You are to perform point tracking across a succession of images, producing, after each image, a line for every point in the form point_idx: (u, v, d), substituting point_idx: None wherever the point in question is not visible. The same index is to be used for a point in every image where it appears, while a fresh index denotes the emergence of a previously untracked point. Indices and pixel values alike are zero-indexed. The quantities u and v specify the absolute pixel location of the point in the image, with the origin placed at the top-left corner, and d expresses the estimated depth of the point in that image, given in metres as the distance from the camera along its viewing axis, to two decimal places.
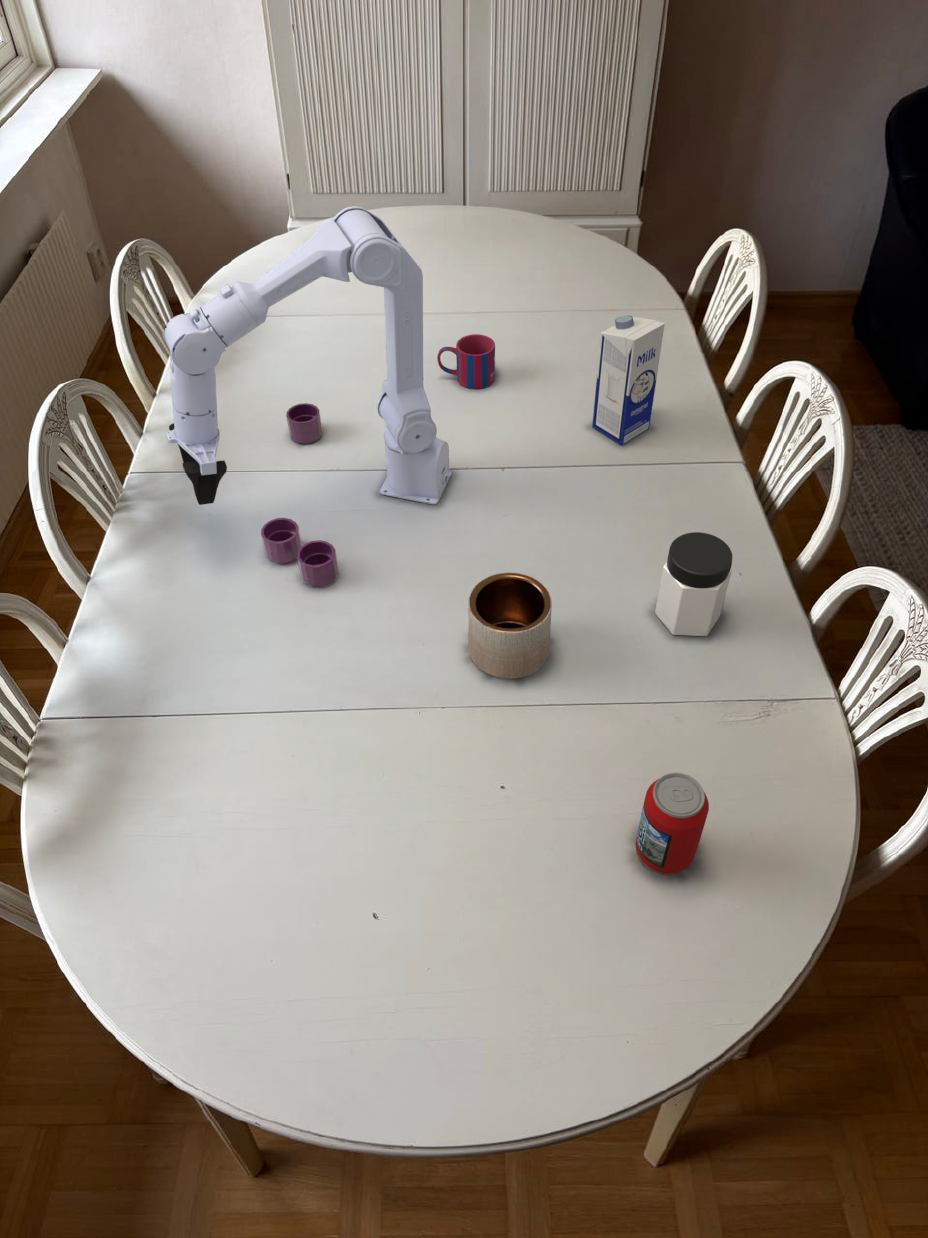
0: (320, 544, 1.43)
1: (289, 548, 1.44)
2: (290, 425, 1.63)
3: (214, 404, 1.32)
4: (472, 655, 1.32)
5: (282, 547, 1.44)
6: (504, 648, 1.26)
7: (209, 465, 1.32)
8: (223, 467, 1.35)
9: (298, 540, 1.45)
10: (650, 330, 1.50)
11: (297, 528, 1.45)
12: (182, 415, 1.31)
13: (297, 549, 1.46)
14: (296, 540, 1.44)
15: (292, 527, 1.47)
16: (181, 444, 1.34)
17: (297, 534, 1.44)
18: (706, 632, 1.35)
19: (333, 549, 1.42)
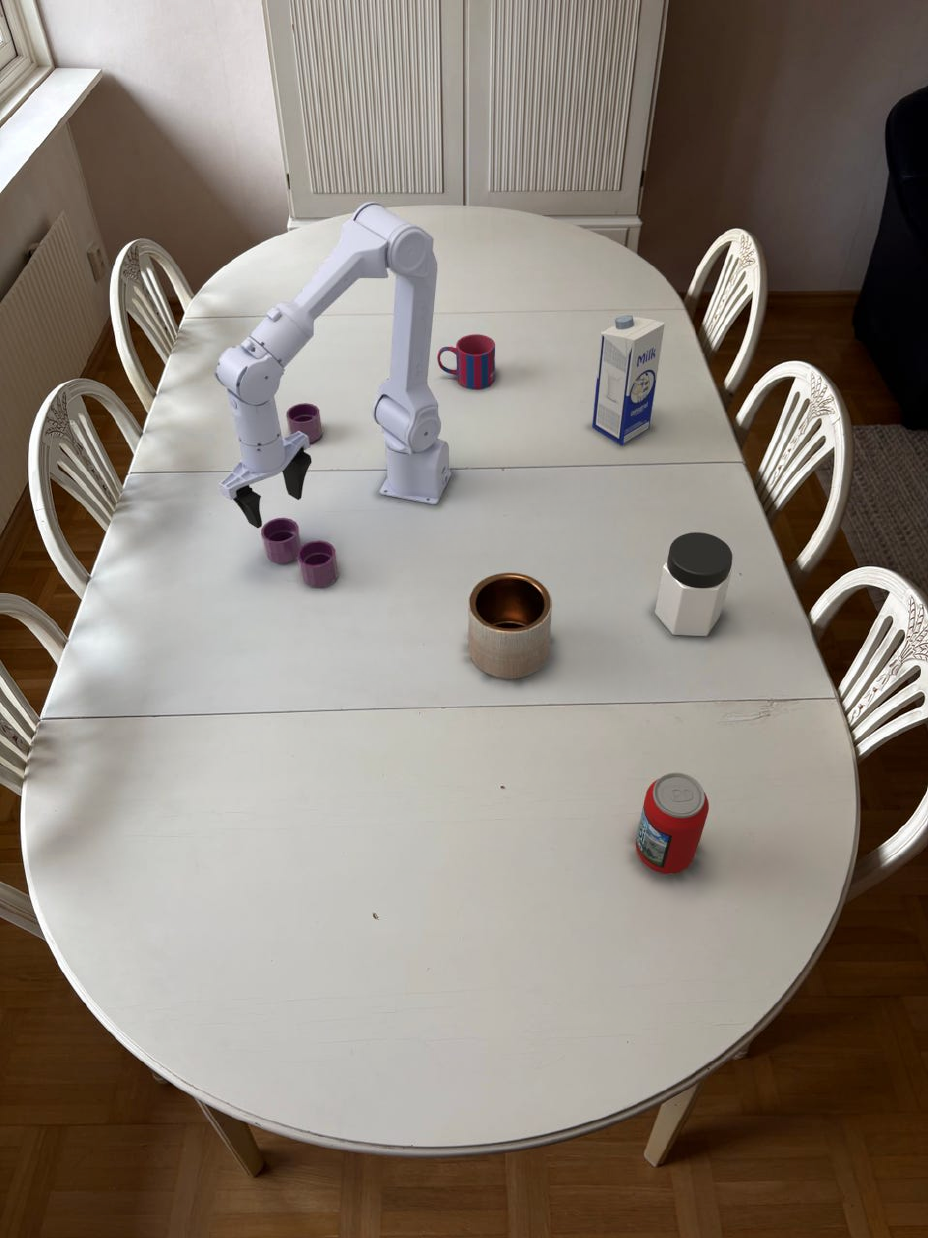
0: (320, 544, 1.43)
1: (289, 548, 1.44)
2: (290, 425, 1.63)
3: (279, 427, 1.31)
4: (472, 655, 1.32)
5: (282, 547, 1.44)
6: (504, 648, 1.26)
7: (224, 489, 1.32)
8: (248, 500, 1.33)
9: (298, 540, 1.45)
10: (650, 330, 1.50)
11: (297, 528, 1.45)
12: None
13: (297, 549, 1.46)
14: (296, 540, 1.44)
15: (292, 527, 1.47)
16: None
17: (297, 534, 1.44)
18: (706, 632, 1.35)
19: (333, 549, 1.42)
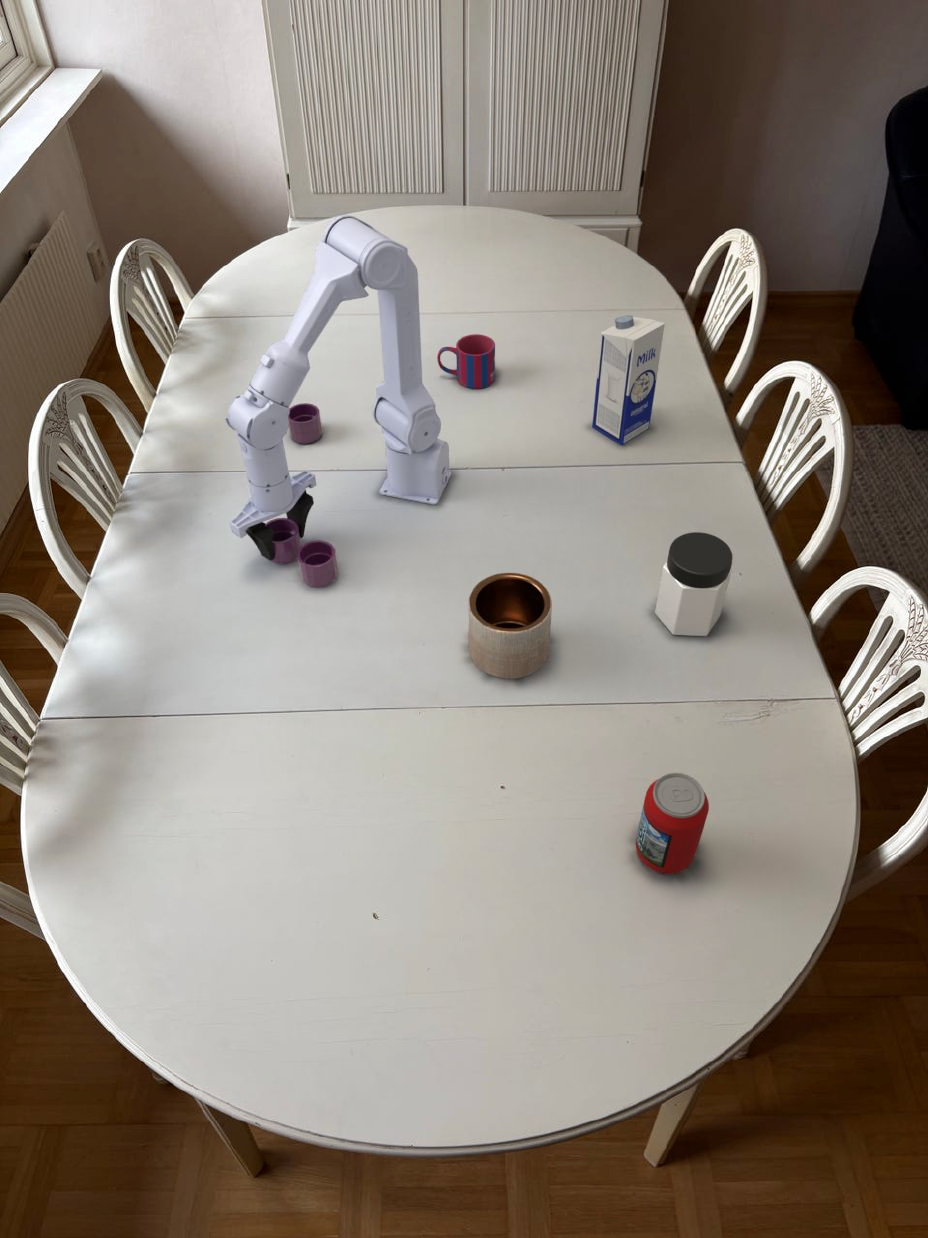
0: (320, 544, 1.43)
1: (289, 548, 1.44)
2: (290, 425, 1.63)
3: (287, 468, 1.36)
4: (472, 655, 1.32)
5: (282, 547, 1.44)
6: (504, 648, 1.26)
7: (234, 527, 1.37)
8: (261, 535, 1.38)
9: (298, 540, 1.45)
10: (650, 330, 1.50)
11: (297, 528, 1.45)
12: None
13: (297, 549, 1.46)
14: (296, 540, 1.44)
15: (292, 527, 1.47)
16: (250, 499, 1.40)
17: (297, 534, 1.44)
18: (706, 632, 1.35)
19: (333, 549, 1.42)
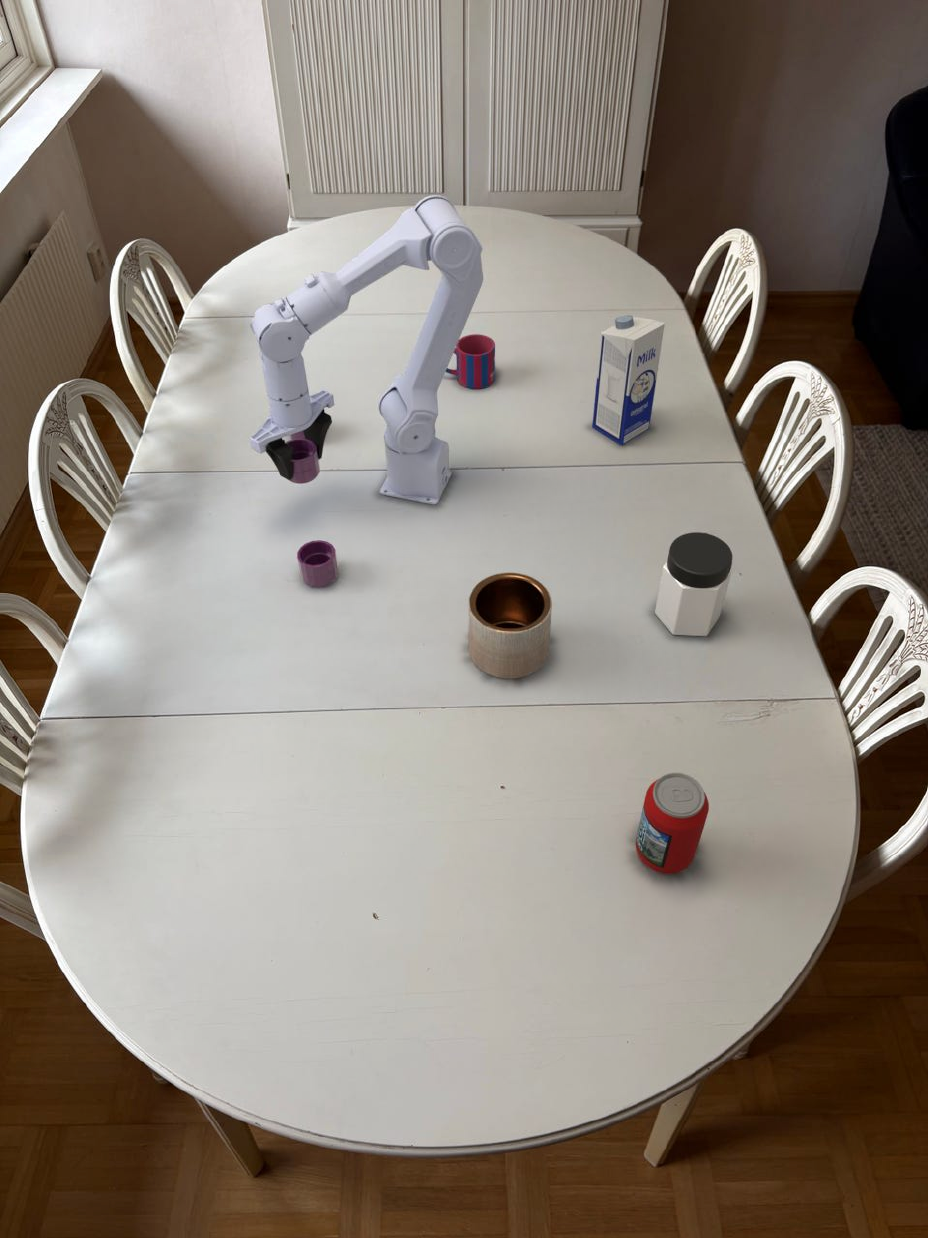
0: (320, 544, 1.43)
1: (307, 467, 1.46)
2: None
3: (305, 388, 1.37)
4: (472, 655, 1.32)
5: (300, 466, 1.45)
6: (504, 648, 1.26)
7: (254, 442, 1.38)
8: (281, 451, 1.40)
9: (316, 460, 1.47)
10: (650, 330, 1.50)
11: (315, 447, 1.46)
12: None
13: (315, 469, 1.47)
14: (314, 459, 1.46)
15: (310, 447, 1.48)
16: None
17: (315, 453, 1.46)
18: (706, 632, 1.35)
19: (333, 549, 1.42)
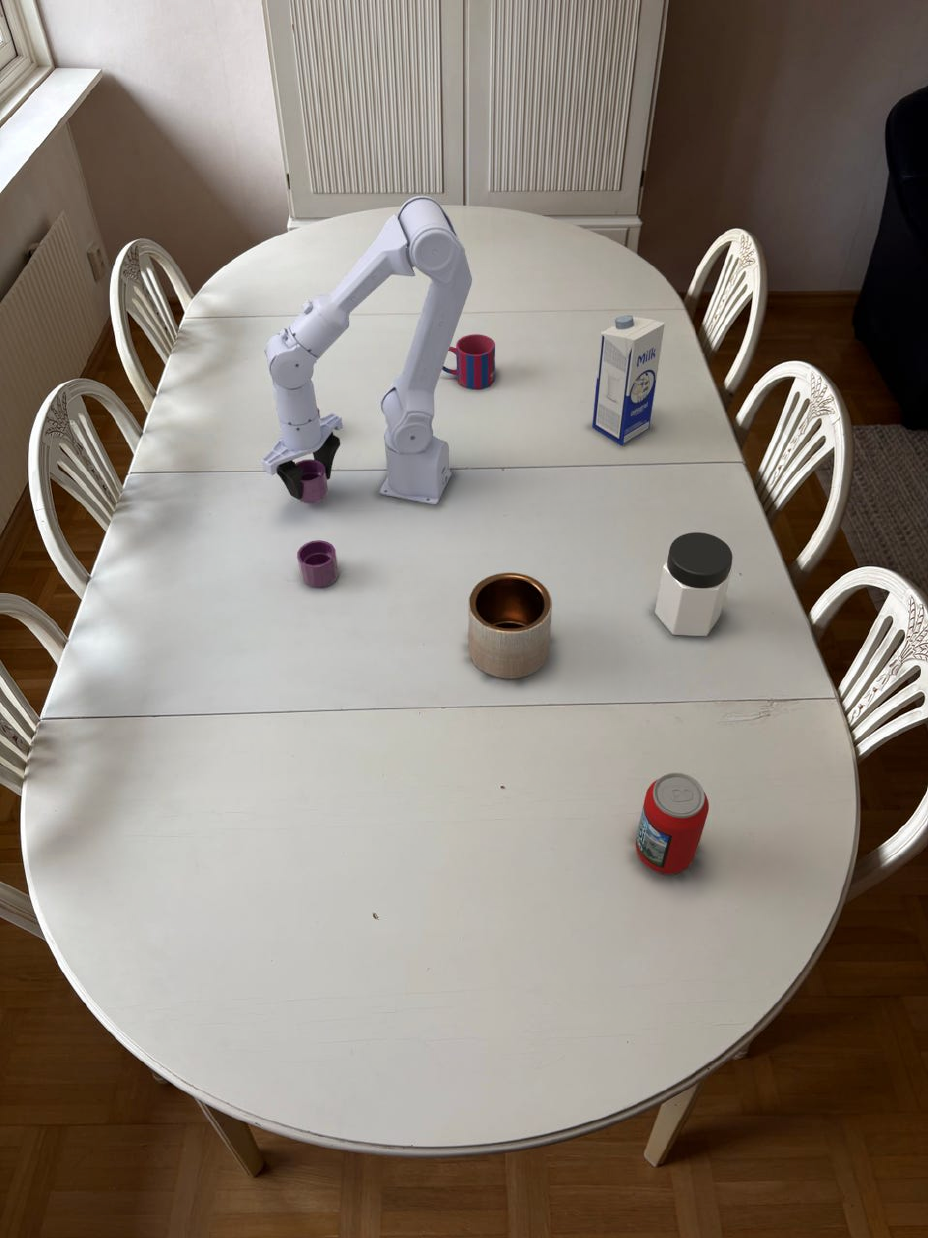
0: (320, 544, 1.43)
1: (316, 487, 1.51)
2: None
3: (314, 413, 1.42)
4: (472, 655, 1.32)
5: (310, 486, 1.50)
6: (504, 648, 1.26)
7: (266, 465, 1.43)
8: (291, 472, 1.45)
9: (325, 480, 1.52)
10: (650, 330, 1.50)
11: (324, 468, 1.51)
12: None
13: (324, 489, 1.52)
14: (323, 480, 1.51)
15: (319, 468, 1.53)
16: (280, 439, 1.47)
17: (324, 474, 1.51)
18: (706, 632, 1.35)
19: (333, 549, 1.42)
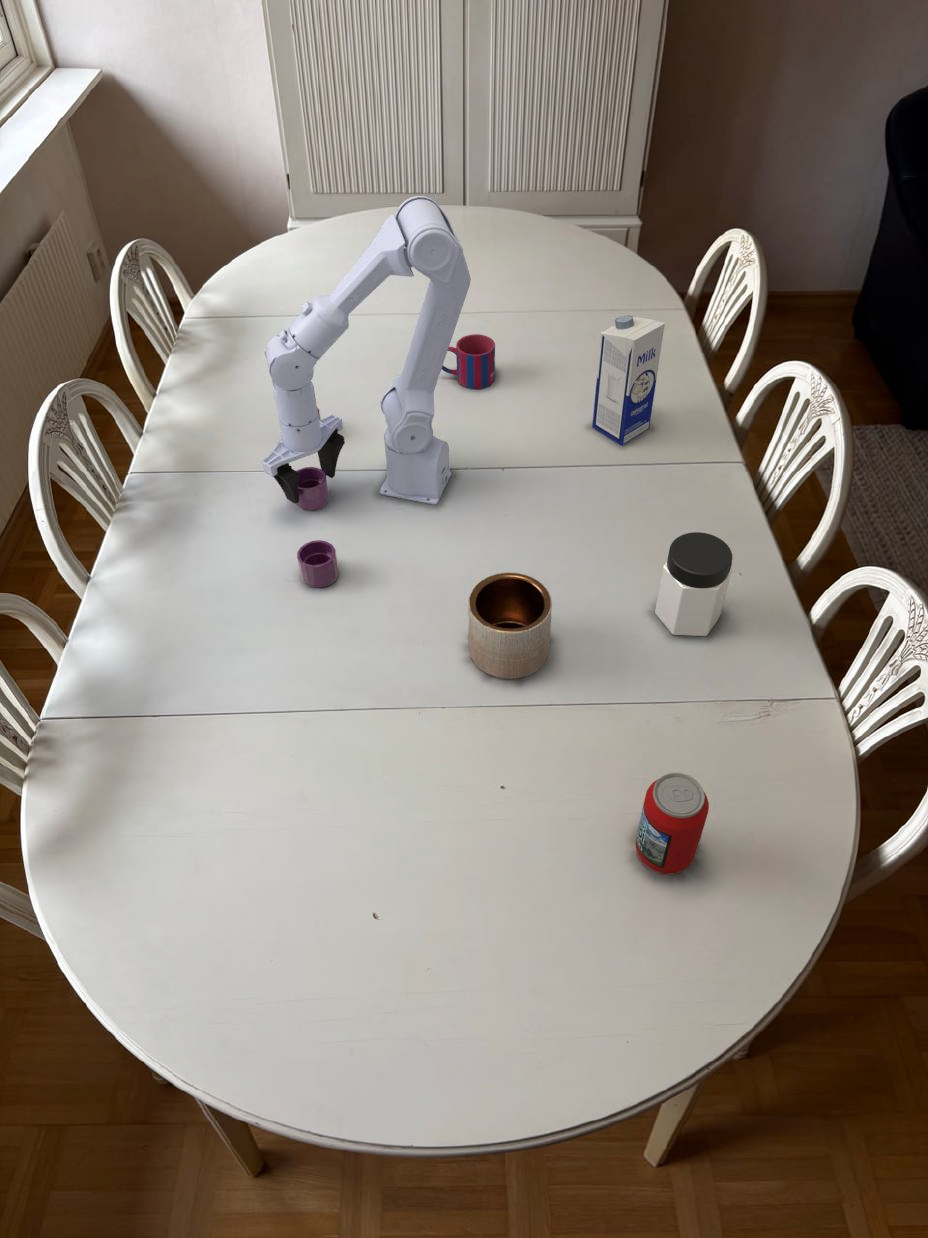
0: (320, 544, 1.43)
1: (317, 495, 1.52)
2: None
3: (314, 414, 1.42)
4: (472, 655, 1.32)
5: (311, 494, 1.51)
6: (504, 648, 1.26)
7: (266, 466, 1.44)
8: (288, 476, 1.45)
9: (326, 488, 1.53)
10: (650, 330, 1.50)
11: (325, 476, 1.53)
12: None
13: (325, 496, 1.53)
14: (324, 487, 1.52)
15: (320, 475, 1.54)
16: None
17: (325, 482, 1.52)
18: (706, 632, 1.35)
19: (333, 549, 1.42)
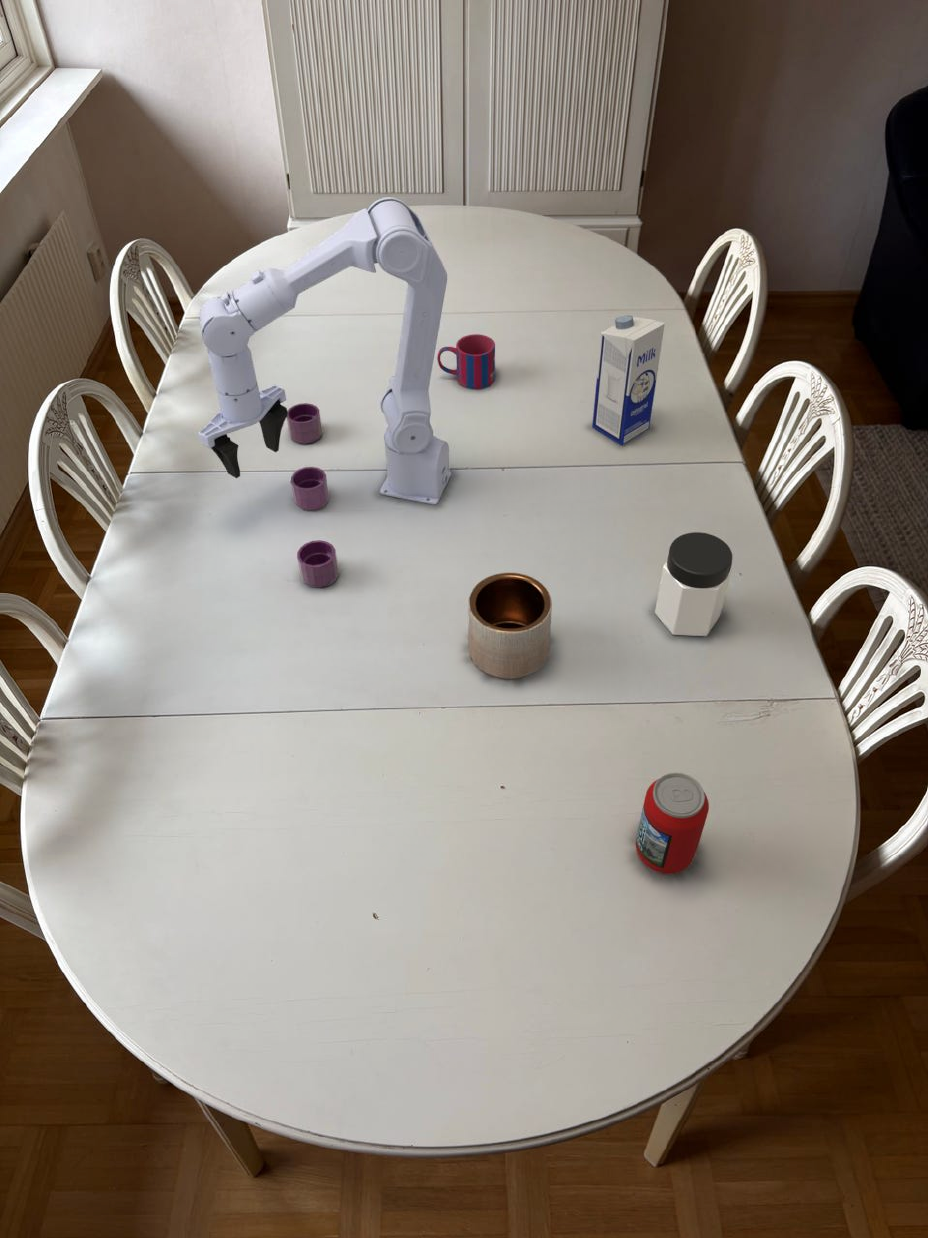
0: (320, 544, 1.43)
1: (317, 495, 1.52)
2: (290, 425, 1.63)
3: (252, 383, 1.36)
4: (472, 655, 1.32)
5: (311, 494, 1.51)
6: (504, 648, 1.26)
7: (203, 437, 1.37)
8: (226, 448, 1.39)
9: (326, 488, 1.53)
10: (650, 330, 1.50)
11: (325, 476, 1.53)
12: None
13: (325, 496, 1.53)
14: (324, 487, 1.52)
15: (320, 475, 1.54)
16: None
17: (325, 482, 1.52)
18: (706, 632, 1.35)
19: (333, 549, 1.42)
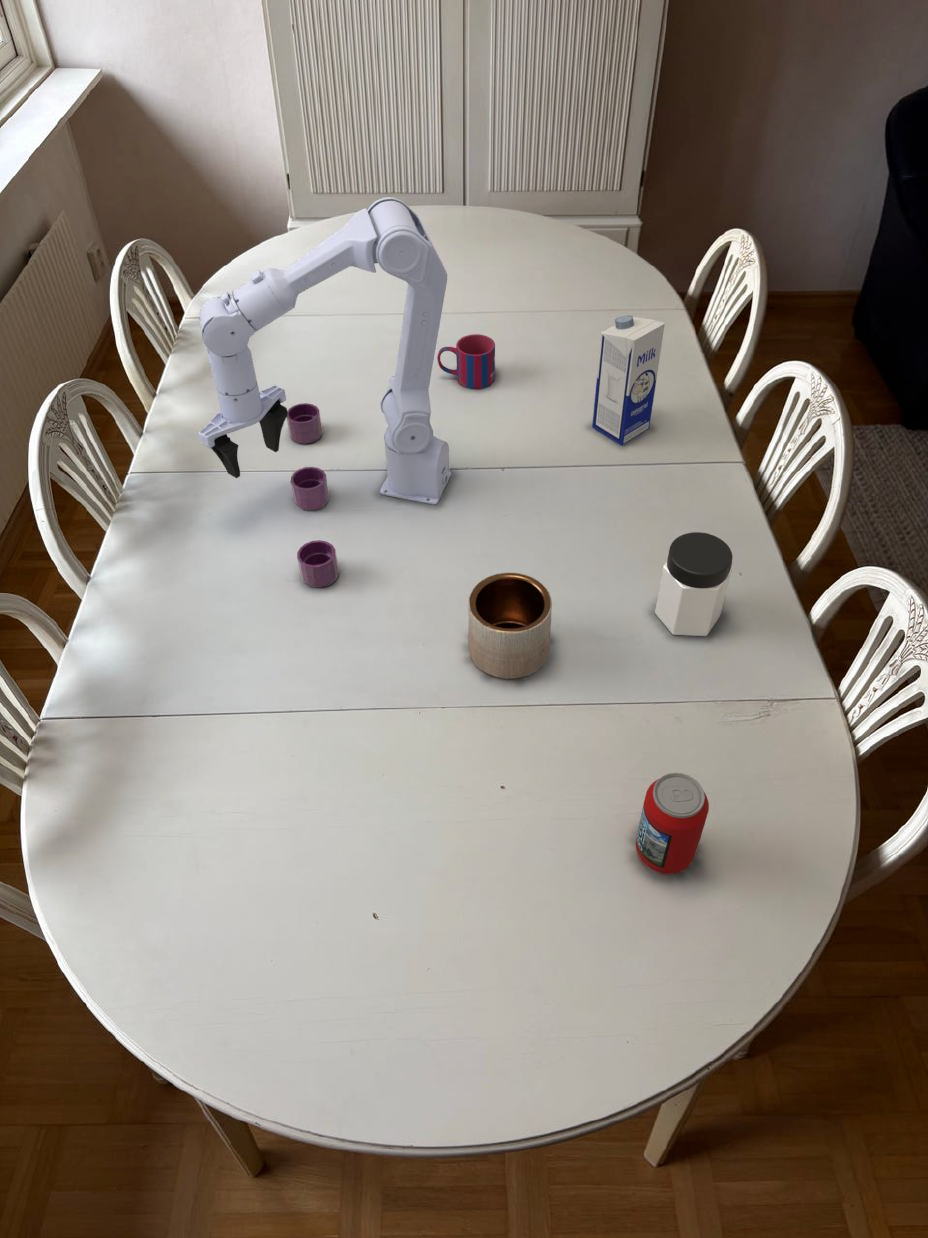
0: (320, 544, 1.43)
1: (317, 495, 1.52)
2: (290, 425, 1.63)
3: (252, 383, 1.36)
4: (472, 655, 1.32)
5: (311, 494, 1.51)
6: (504, 648, 1.26)
7: (203, 437, 1.37)
8: (226, 448, 1.39)
9: (326, 488, 1.53)
10: (650, 330, 1.50)
11: (325, 476, 1.53)
12: None
13: (325, 496, 1.53)
14: (324, 487, 1.52)
15: (320, 475, 1.54)
16: None
17: (325, 482, 1.52)
18: (706, 632, 1.35)
19: (333, 549, 1.42)
